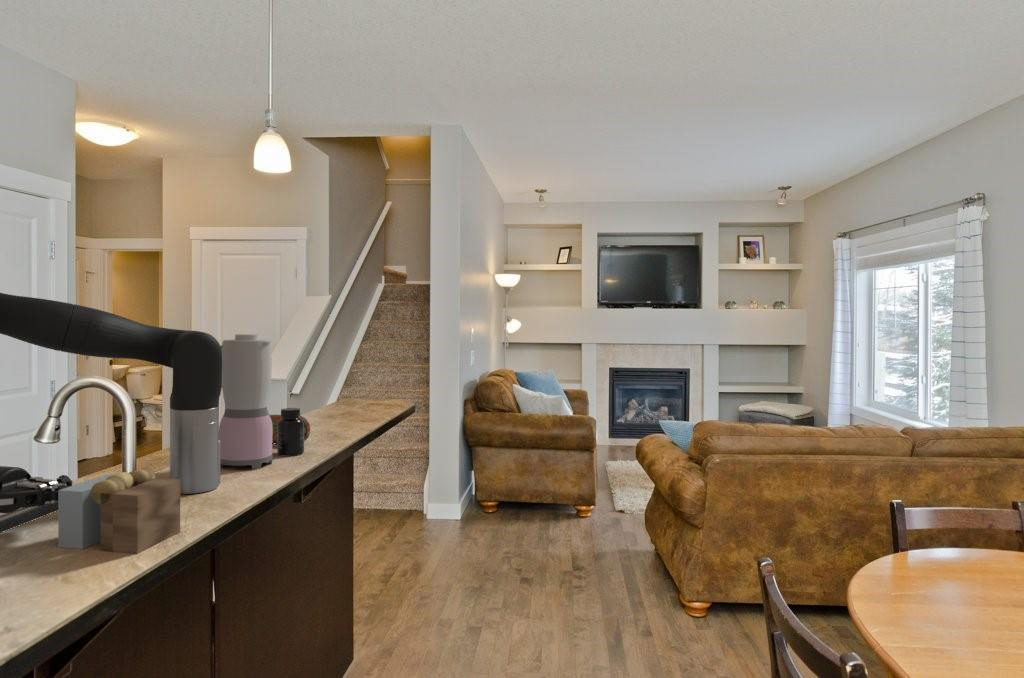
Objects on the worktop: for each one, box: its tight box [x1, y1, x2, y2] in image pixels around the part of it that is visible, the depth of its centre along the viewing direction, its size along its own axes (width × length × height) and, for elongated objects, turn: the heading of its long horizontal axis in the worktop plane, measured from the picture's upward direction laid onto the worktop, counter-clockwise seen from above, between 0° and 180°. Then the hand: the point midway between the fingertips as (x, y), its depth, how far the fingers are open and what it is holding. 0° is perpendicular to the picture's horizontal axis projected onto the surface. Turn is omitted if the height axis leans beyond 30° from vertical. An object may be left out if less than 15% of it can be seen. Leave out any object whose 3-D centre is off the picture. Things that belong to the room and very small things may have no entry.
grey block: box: [57, 471, 134, 550], centre depth 104 cm, size 10×8×11 cm
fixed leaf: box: [91, 466, 181, 554], centre depth 103 cm, size 10×8×11 cm
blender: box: [219, 333, 274, 470], centre depth 155 cm, size 16×12×32 cm
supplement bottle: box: [276, 407, 305, 456], centre depth 169 cm, size 7×7×12 cm
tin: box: [269, 414, 311, 443], centre depth 182 cm, size 15×3×8 cm, turn 81°
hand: (81, 494), depth 104 cm, fingers closed
